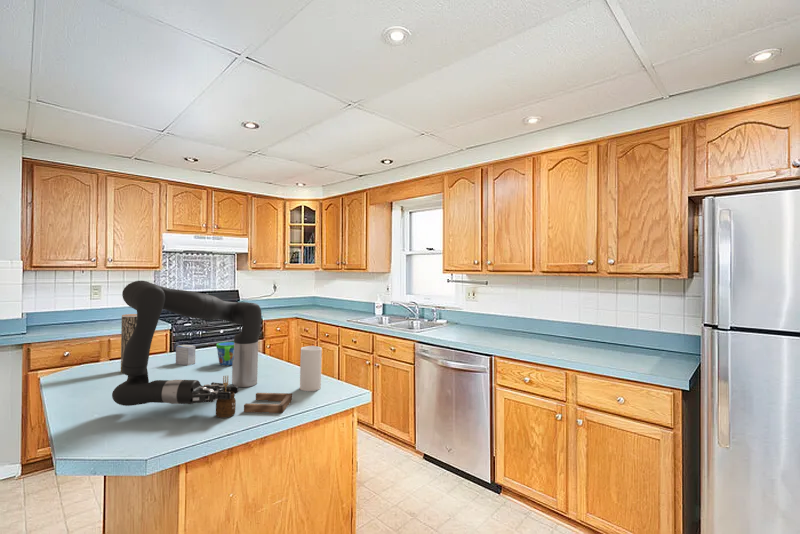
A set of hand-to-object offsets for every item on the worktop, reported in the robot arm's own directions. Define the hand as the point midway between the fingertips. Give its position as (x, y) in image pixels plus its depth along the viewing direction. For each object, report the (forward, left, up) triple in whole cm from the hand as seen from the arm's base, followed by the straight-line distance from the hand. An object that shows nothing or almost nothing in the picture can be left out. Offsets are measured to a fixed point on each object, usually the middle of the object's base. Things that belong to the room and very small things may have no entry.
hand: (233, 392), depth 132 cm
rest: (+2, +13, -7) cm, 15 cm away
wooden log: (-81, +3, -8) cm, 82 cm away
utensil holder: (-2, -1, -7) cm, 8 cm away
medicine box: (-76, +25, -8) cm, 80 cm away
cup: (-2, +36, -8) cm, 36 cm away
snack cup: (-60, +37, -8) cm, 71 cm away
